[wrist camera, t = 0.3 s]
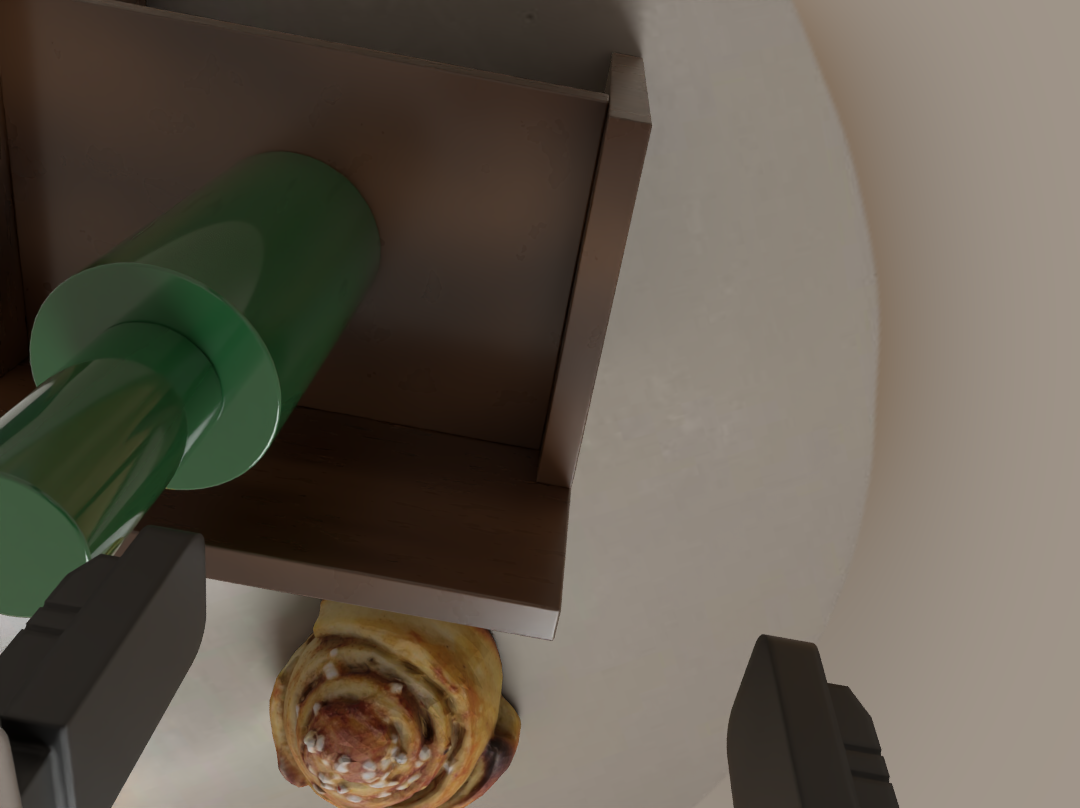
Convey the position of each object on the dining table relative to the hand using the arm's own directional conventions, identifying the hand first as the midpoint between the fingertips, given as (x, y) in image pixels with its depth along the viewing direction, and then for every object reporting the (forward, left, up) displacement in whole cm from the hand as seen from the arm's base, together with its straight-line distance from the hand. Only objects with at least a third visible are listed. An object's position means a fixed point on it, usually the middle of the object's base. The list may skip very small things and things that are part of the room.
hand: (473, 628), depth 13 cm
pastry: (+31, -4, -28) cm, 42 cm away
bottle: (+2, -8, -18) cm, 20 cm away
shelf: (+2, -8, -28) cm, 29 cm away
